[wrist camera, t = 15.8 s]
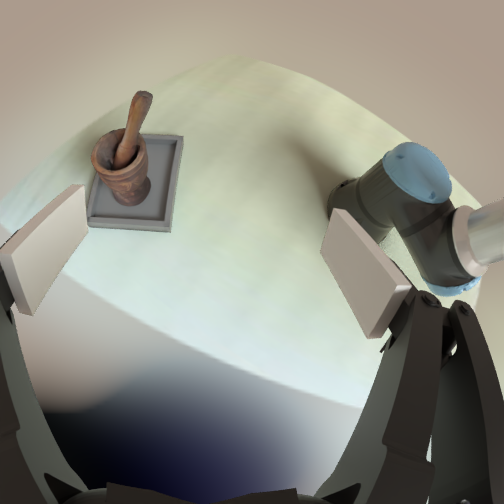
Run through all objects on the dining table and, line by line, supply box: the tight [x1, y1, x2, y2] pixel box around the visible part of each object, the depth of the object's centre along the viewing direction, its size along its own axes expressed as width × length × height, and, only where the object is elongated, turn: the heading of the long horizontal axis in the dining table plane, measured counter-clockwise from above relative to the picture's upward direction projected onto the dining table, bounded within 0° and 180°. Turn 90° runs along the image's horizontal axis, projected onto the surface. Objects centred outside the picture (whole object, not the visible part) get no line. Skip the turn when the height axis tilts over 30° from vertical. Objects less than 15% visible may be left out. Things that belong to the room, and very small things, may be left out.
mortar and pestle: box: [91, 91, 153, 206], centre depth 39 cm, size 12×9×20 cm
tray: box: [86, 134, 183, 233], centre depth 48 cm, size 16×19×3 cm
